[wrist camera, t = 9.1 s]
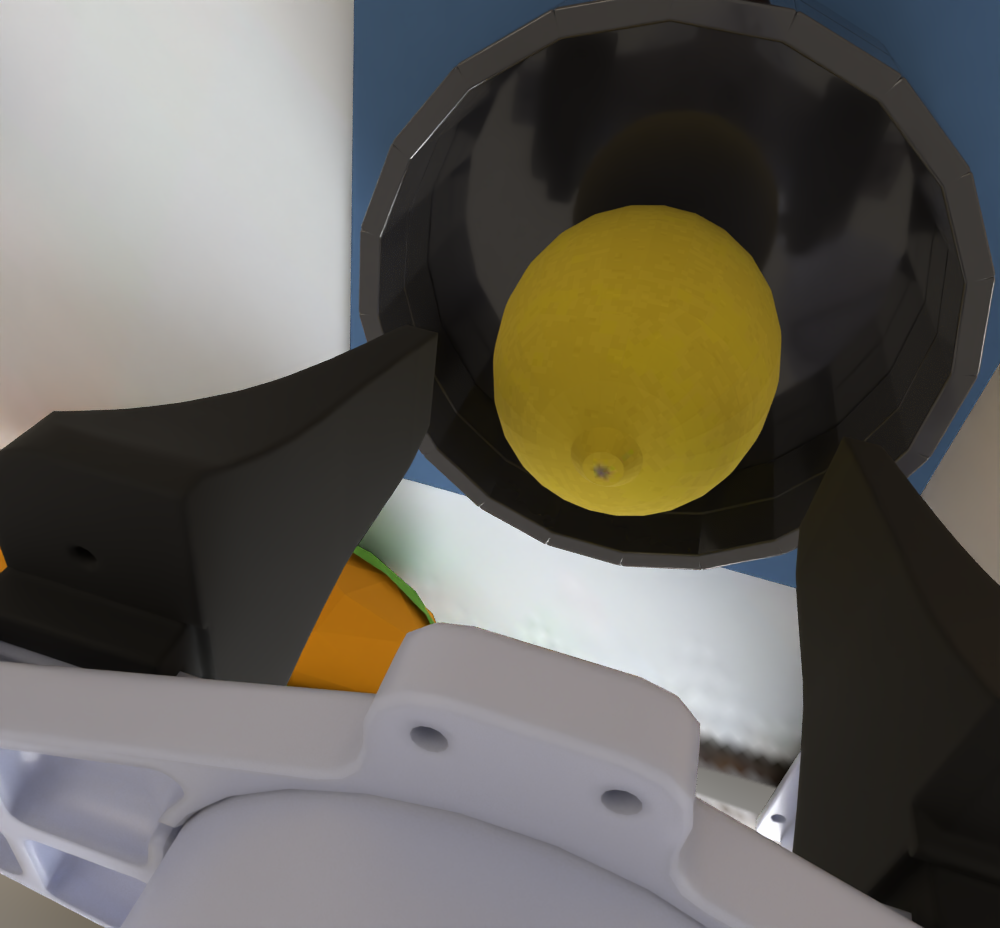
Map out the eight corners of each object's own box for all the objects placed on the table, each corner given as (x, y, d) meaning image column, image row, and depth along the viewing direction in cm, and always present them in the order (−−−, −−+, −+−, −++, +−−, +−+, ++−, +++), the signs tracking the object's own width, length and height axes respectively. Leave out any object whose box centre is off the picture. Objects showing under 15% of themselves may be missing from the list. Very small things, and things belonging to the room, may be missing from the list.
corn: (378, 865, 25) (-185, 642, 26) (450, 683, 31) (-8, 511, 33) (420, 723, 21) (-254, 466, 22) (494, 545, 27) (-36, 353, 28)
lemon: (502, 231, 20) (377, 399, 13) (716, 108, 17) (682, 248, 10) (612, 408, 22) (547, 624, 15) (818, 325, 19) (840, 549, 13)
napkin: (853, 598, 24) (854, 605, 24) (351, 458, 26) (348, 463, 26) (1263, -93, 13) (1273, -92, 13) (362, -233, 15) (356, -235, 15)
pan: (824, 528, 23) (832, 626, 20) (405, 416, 24) (354, 490, 21) (1080, 35, 15) (1156, 76, 12) (437, -81, 16) (364, -71, 14)
